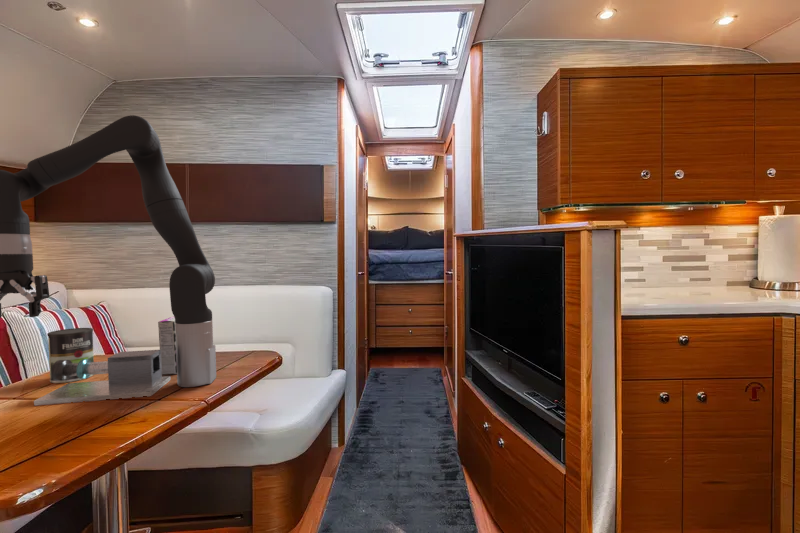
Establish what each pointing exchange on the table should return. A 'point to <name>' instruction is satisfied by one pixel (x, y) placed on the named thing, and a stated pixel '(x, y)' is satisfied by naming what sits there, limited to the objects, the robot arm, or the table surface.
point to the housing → (116, 380)
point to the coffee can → (70, 347)
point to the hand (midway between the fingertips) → (15, 317)
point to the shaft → (77, 369)
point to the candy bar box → (168, 346)
